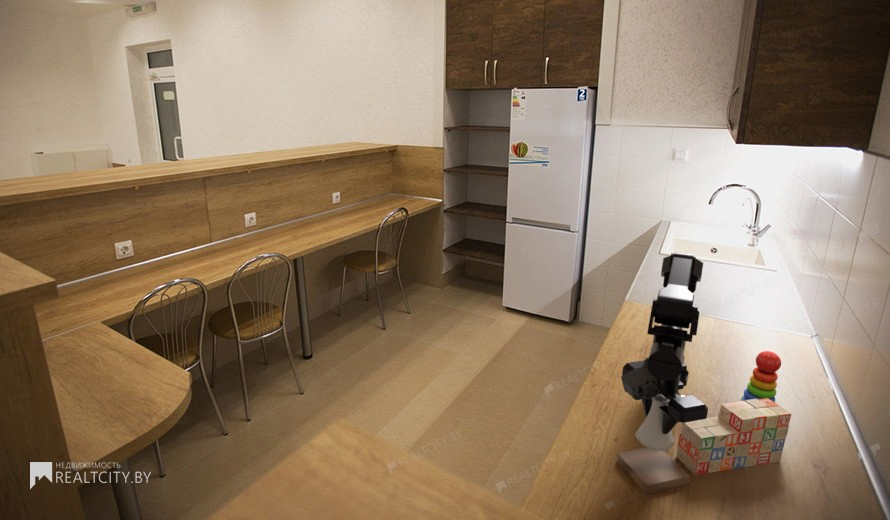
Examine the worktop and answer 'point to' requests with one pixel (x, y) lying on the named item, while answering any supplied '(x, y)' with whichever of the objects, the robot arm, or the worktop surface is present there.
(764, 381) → the stacking toy
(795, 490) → the worktop surface
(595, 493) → the worktop surface
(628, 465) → the plinth
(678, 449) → the stack of blocks
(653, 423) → the flask
